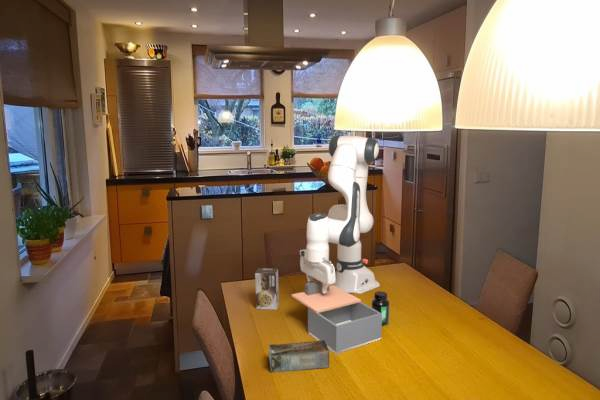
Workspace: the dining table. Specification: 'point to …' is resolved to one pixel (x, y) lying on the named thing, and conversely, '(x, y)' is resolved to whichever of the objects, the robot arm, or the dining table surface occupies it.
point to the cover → (324, 297)
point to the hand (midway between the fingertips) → (317, 288)
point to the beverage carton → (298, 356)
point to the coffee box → (267, 288)
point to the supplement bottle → (381, 306)
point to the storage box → (346, 326)
